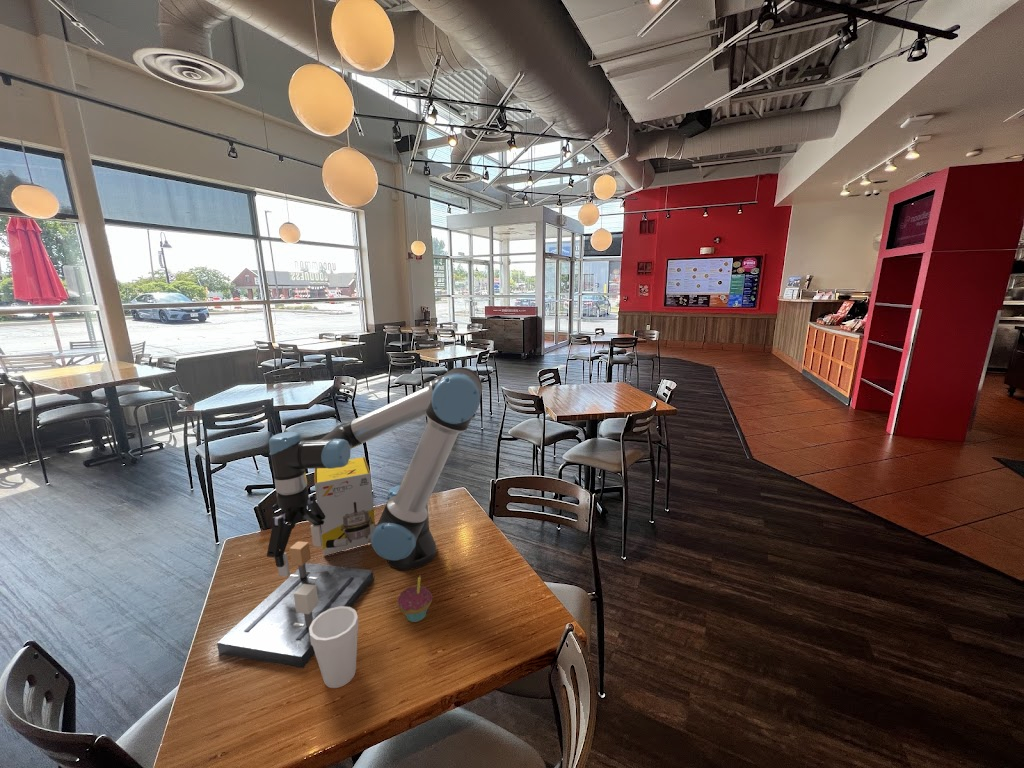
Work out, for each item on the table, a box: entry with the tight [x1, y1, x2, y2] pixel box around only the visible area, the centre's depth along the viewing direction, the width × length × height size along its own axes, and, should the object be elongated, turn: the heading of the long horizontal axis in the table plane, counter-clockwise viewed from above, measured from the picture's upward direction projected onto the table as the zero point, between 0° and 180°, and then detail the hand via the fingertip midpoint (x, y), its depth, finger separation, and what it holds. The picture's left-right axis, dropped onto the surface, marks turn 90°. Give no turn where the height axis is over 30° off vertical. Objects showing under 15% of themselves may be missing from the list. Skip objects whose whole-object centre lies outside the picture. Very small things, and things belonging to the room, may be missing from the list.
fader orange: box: [288, 541, 312, 578], centre depth 116 cm, size 3×3×10 cm
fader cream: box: [294, 584, 318, 627], centre depth 98 cm, size 3×3×10 cm
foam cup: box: [309, 606, 360, 689], centre depth 88 cm, size 10×9×13 cm
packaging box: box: [314, 456, 376, 555], centre depth 139 cm, size 16×16×25 cm
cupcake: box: [397, 575, 433, 623], centre depth 104 cm, size 9×8×12 cm
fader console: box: [216, 562, 375, 669], centre depth 107 cm, size 22×30×3 cm
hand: (302, 559), depth 116 cm, fingers open, 13 cm apart
